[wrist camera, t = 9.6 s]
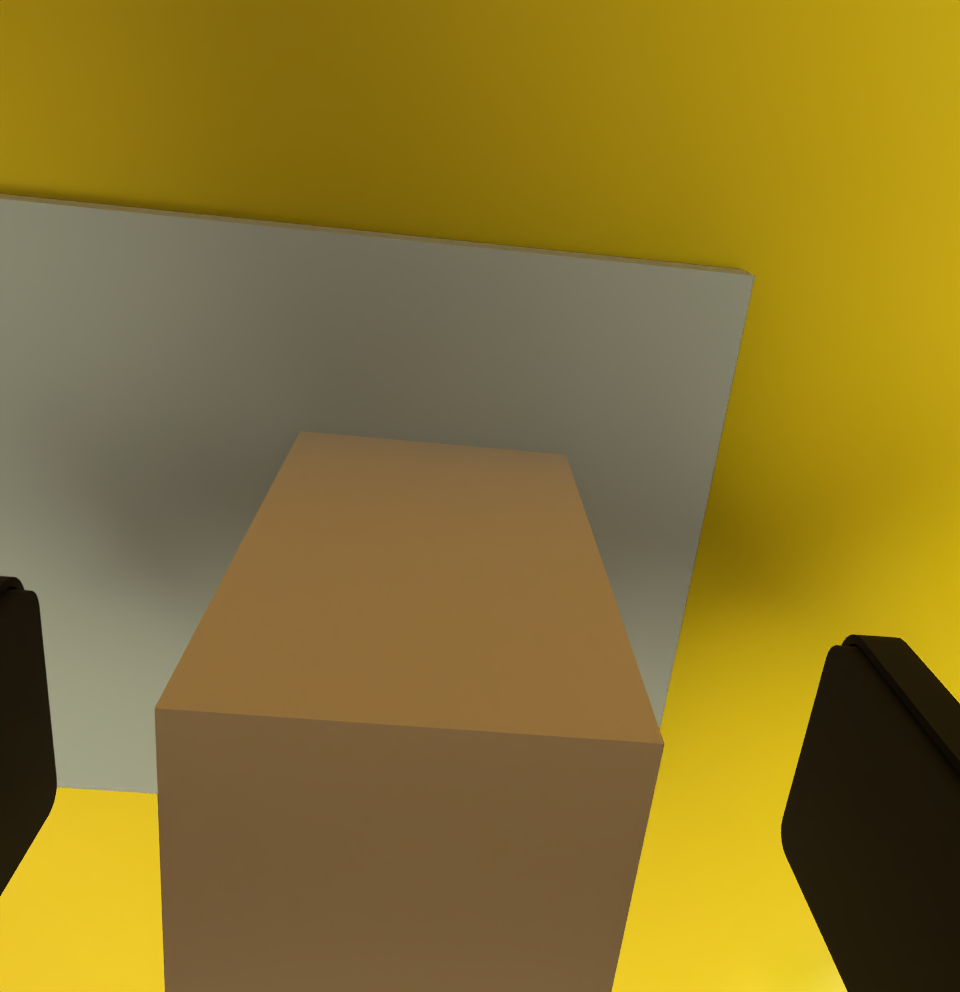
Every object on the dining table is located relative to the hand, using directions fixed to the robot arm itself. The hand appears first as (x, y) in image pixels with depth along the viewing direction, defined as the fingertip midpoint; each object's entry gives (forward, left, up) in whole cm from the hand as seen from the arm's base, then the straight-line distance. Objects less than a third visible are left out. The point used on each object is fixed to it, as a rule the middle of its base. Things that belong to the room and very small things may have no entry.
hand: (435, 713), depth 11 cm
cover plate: (0, -3, -5) cm, 6 cm away
